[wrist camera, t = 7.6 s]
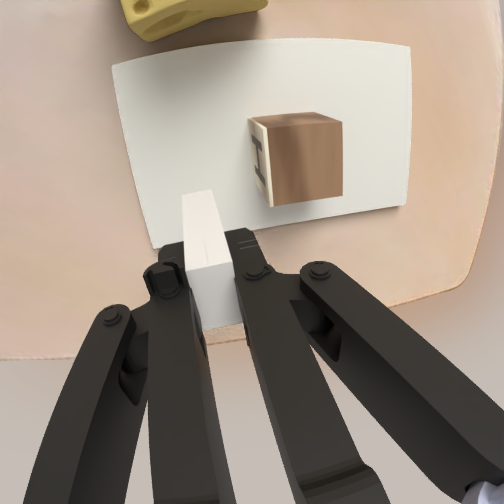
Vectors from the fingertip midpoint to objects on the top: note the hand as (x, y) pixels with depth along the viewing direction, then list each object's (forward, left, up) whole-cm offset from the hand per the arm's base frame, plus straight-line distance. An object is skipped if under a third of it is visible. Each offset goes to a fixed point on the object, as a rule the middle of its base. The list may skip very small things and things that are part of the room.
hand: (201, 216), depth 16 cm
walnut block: (+5, 0, -10) cm, 11 cm away
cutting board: (+8, +1, -14) cm, 16 cm away
